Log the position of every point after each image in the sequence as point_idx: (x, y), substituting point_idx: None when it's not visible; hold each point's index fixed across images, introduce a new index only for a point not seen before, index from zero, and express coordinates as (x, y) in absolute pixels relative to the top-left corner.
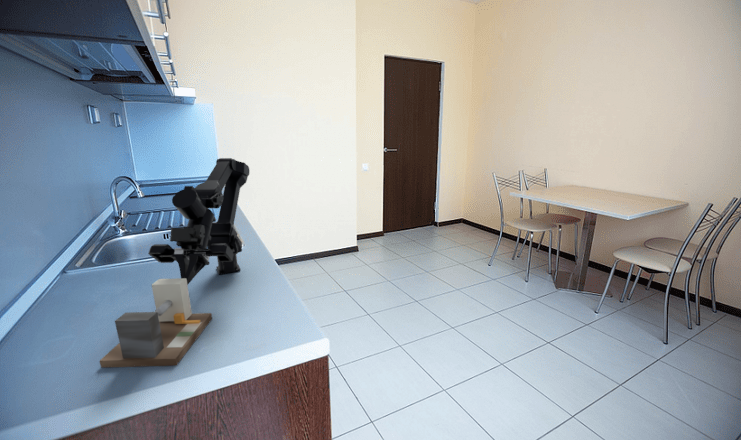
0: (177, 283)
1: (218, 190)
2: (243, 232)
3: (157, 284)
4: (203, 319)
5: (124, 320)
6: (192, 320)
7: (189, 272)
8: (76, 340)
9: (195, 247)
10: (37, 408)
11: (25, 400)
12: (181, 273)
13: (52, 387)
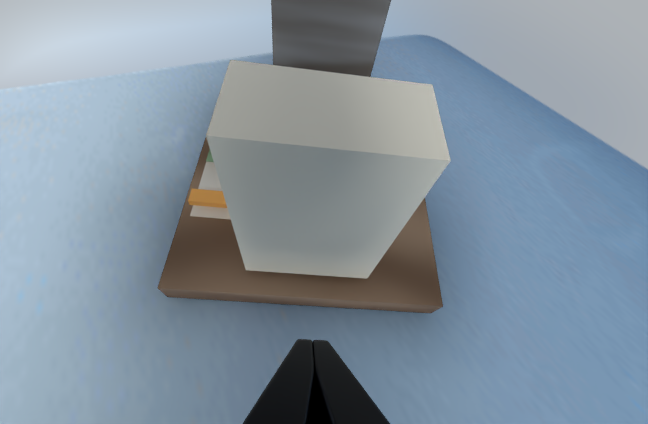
0: (251, 69)
1: None
2: None
3: (393, 81)
4: (187, 237)
5: None
6: (220, 200)
7: (261, 411)
8: (575, 220)
9: None
10: (424, 52)
11: (462, 67)
12: (365, 409)
13: (448, 83)
